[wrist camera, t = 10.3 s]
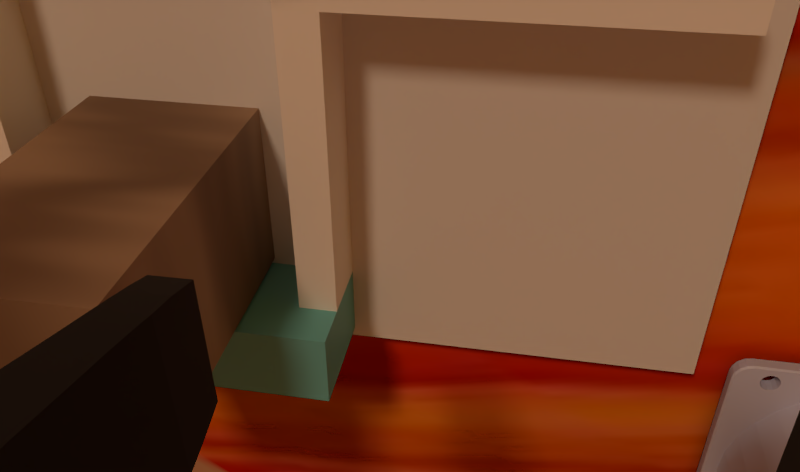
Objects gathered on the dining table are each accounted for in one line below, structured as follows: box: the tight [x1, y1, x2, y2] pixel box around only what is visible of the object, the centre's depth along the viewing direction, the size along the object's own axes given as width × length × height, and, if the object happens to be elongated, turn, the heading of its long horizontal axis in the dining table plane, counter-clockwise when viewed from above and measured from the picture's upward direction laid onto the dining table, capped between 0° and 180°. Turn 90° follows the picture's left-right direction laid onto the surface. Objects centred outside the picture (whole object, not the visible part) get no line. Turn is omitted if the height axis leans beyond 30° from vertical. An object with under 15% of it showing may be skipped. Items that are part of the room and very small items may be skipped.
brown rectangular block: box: [0, 96, 275, 372], centre depth 17 cm, size 4×4×8 cm
